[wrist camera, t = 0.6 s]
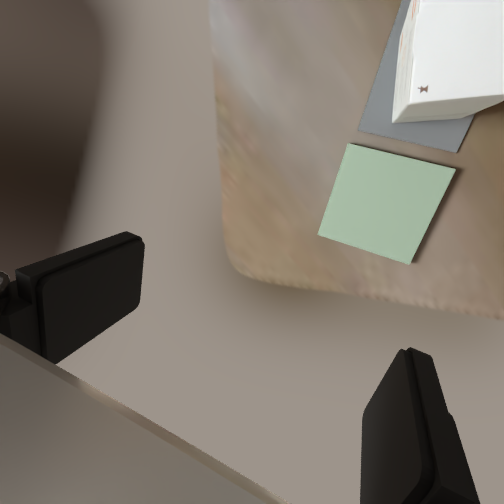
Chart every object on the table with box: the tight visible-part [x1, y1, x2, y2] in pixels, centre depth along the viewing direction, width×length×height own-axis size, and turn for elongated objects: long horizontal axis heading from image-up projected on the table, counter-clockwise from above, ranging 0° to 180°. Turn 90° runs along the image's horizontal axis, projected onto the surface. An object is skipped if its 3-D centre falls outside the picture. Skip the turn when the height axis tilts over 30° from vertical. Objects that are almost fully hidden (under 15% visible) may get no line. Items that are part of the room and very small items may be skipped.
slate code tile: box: [358, 0, 475, 153], centre depth 29 cm, size 12×10×1 cm
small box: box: [392, 0, 504, 123], centre depth 23 cm, size 8×6×13 cm
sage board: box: [318, 143, 456, 264], centre depth 33 cm, size 11×11×1 cm
